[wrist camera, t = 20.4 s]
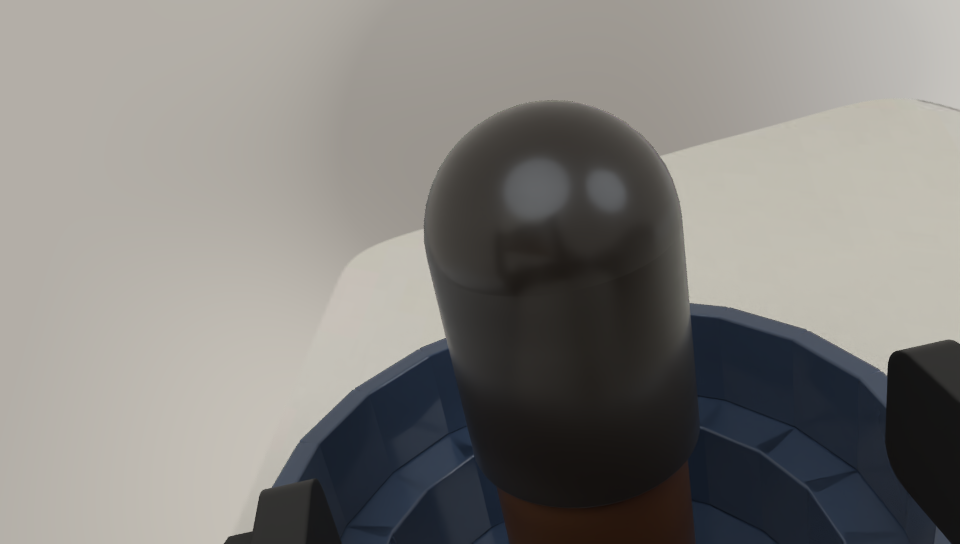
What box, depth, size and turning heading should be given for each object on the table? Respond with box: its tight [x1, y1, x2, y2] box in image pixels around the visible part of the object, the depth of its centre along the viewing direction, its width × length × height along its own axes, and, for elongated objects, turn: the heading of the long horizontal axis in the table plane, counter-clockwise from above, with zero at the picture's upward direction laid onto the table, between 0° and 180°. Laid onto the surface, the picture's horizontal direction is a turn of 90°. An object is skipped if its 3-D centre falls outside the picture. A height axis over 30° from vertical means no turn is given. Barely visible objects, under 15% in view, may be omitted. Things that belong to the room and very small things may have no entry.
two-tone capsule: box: [424, 100, 700, 544], centre depth 17 cm, size 5×5×13 cm
